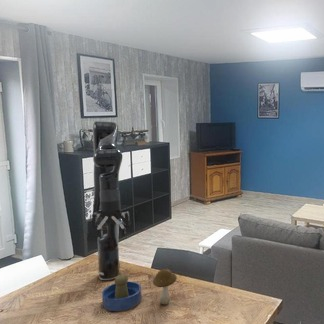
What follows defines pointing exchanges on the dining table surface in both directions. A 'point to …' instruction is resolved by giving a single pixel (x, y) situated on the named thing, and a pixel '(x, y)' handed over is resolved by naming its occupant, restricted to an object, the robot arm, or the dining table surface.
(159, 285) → the mushroom
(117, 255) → the robot arm
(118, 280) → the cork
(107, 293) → the bowl
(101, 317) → the dining table surface
